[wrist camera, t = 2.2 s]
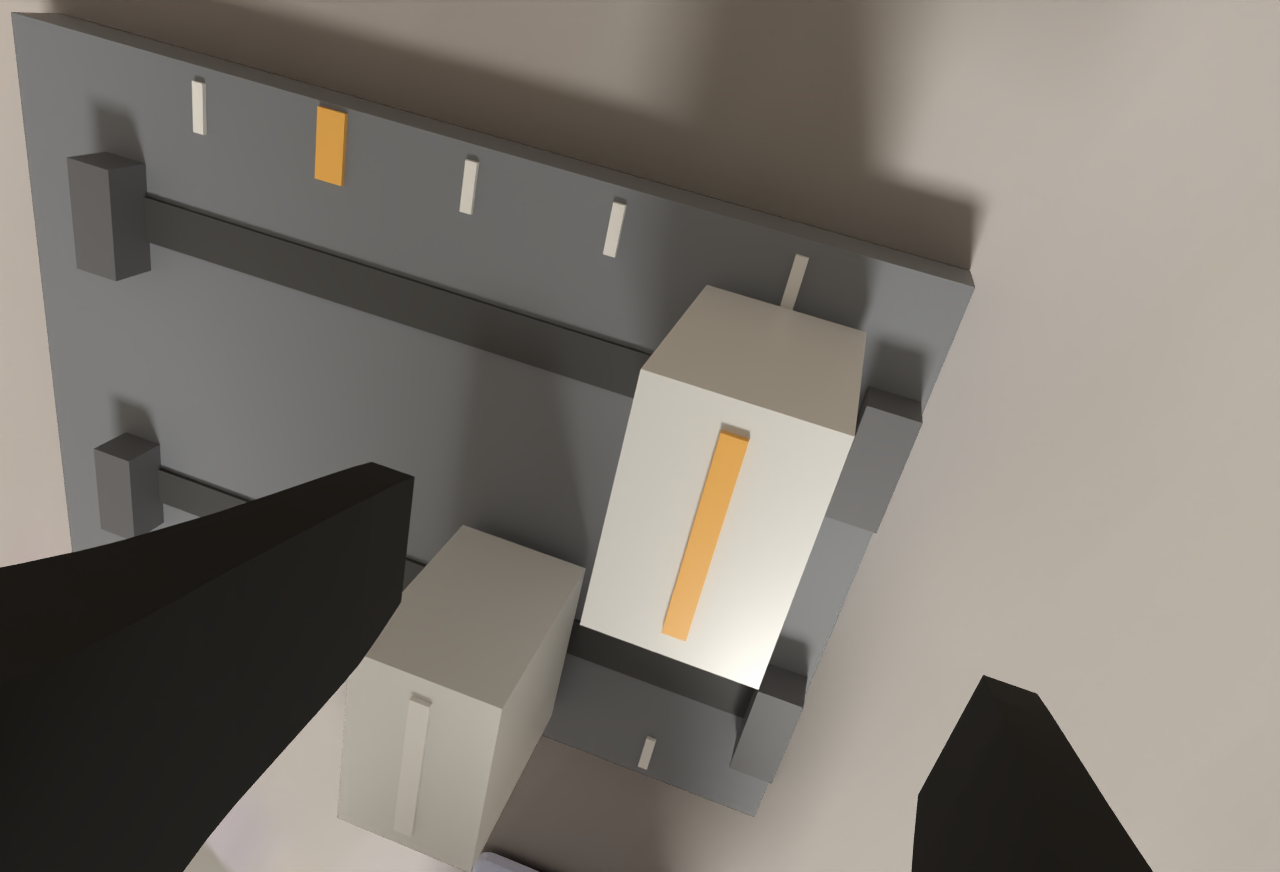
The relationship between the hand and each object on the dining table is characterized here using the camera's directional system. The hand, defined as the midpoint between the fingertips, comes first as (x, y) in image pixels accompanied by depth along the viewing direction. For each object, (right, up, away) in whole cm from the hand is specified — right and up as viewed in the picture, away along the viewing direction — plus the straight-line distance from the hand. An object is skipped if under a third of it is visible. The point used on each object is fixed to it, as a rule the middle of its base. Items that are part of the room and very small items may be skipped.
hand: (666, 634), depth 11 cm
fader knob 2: (+2, +3, +6) cm, 7 cm away
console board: (-5, +3, +10) cm, 12 cm away
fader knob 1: (-3, -2, +10) cm, 11 cm away
